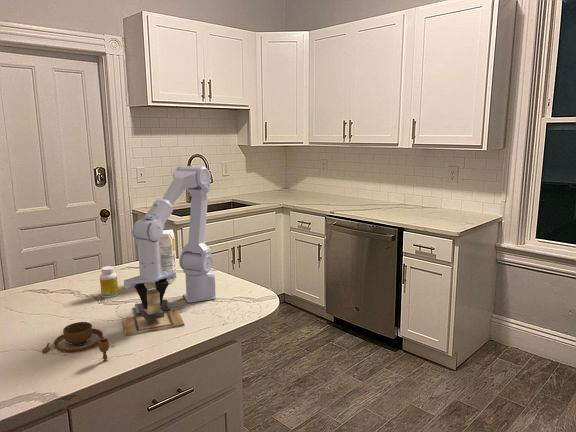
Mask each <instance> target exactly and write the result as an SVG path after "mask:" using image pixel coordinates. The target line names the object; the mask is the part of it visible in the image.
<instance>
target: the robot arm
mask: <svg viewBox="0 0 576 432" xmlns="http://www.w3.org/2000/svg"><path fill="white" fill-rule="evenodd" d="M211 176H212V175H211V173H210V171H209V169H208V168H207V167H206V166H195V165H194V166H193V165H192V166H191V165H184V164H183V165H182V164H181V165H178V166H177V167H176V169H175V171H174V172H172V179H173V180H172V182H170V184H169V187H168V188H167V190H166V192H165V193H164V195H163V197H162V199H157V200H155V201H153V203H152V206H151V207H150V208H149V209H148V211H147V212H146V214H145V215H144V217H143V218H142V219H139V220H137V221H136V222H135V223H134V224H133V227H132V230H131V235H132V237H133V238H134V239H135V244H136V246H137V254H138V255H137V256H138V268H139V274H138V275H137V276H133V277H130V278H127V279H124V280H123V287H124V288H125V289H130V288H131V287H133V288H134V289H135V291H136V292H137V295H138V296H139V299H140V302H141V303H142V305H143V308H144V309H147V290H148V288H147V286H146V284H151V283H152V282H155V284H154V285H155V289H156V290H157V291H158V292H159V293H160V306H161V305H162V300H164V295H165V292H166V290H167V289H168V287H169V284H168V281H167V279H171V278H172V279H174V280H175V279H177V271H176V272H175V271H166V272H161V271H160V255H159V239H160V238H161V237H162V234H163V231H164V228H165V224H166V222H167V221H168V219H169V218H170V216H171V215H172V213H173V212H174V209H173V205H174V204H175V203H176V201H177V200H178V199H179V198H180V196H181V195H182V194H183V193H184V191H187V192H188V193H189V194H190V196H191V200H190V214H189V215H190V216H189V227H188V229H189V230H188V242H187V243H186V244H184V246H182V248H181V253H180V256H179V260H178V263H179V267H180V269H182V272H183V273H184V274H185V293H183V296H184V298H185V300H186V302H187V303H189V304H191V303H196V302H203V301H204V302H205V301H209V300H215V299H217V296H216V278H215V272H214V270H212V267H213V257H212V249H211V248H210V247H209V246H208V245H207V244H206V242H205V241H206V228H207V216H208V215H207V214H208V203H209V200H208V199H209V192H210V187H211Z"/></svg>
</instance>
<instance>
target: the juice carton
mask: <svg viewBox="0 0 576 432" xmlns="http://www.w3.org/2000/svg"><path fill="white" fill-rule="evenodd" d="M176 254H177V252H176V238H175V233H174V230H173V229H166V230H164V229H163V234H162V237H161V238H160V239H159V255H160V271H161V272H166V271H175V272H176V273H177V255H176ZM167 281H168V285H169V284H172V283H173V282H174V281H175V279H172V278H171V279H167ZM151 283H152V284H154V285H155V282H151Z"/></svg>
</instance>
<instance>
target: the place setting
mask: <svg viewBox="0 0 576 432" xmlns="http://www.w3.org/2000/svg"><path fill="white" fill-rule="evenodd" d="M93 335H96V336H97V337H99V339H98V340H96V341H94V342H92V343H90V344H87V345H85V344H86V343H87V342H88V341H90V339H91V338H92V336H93ZM62 341H65V342H66V343H67V344H70V345H71V346H74V348H65V347H59V344H60V343H61V342H62ZM82 345H85V346H82ZM49 346H50V342H47V344H46V346H45V347H44V348H43V349H41V352H42V353H43V354H47V353H48V352H50V350H51V347H49ZM75 346H76V347H75ZM77 346H81V347H77ZM96 346H98V350H99V351H100V352H101V353H102V359H103V360H102V362H103V363H107V362H108V361H109V360H108V359H107V358H108V354H107V352H108V351H109V349H110V347H115V345H111V346H110V340H109V338H107V337H106V338H104V334H103V332H102V330H101V329H96V328H93V324H92V323H91V322H87V321H80V322H73V323H70V324H68V325H66V326H65V327H64V328H63V329H62V334H60V335H59V336H57V337H56V338H55V339H54V341H53V347H54V348H55V350H57V352H58V351H59V352H61V353H68V354H71V353H80V352H85V351H87V350H90V349H92V348H95V347H96Z"/></svg>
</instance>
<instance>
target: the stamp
mask: <svg viewBox="0 0 576 432" xmlns="http://www.w3.org/2000/svg"><path fill="white" fill-rule="evenodd" d="M141 314H142V316H143V317H144V318H145V319H146V321H150V320H154V319H158V318H162V317H164V312H163V311H162V310H161V309H160V293H159V292H158V291H157V290H156V288H152V289H147V309H144V310H141Z"/></svg>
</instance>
